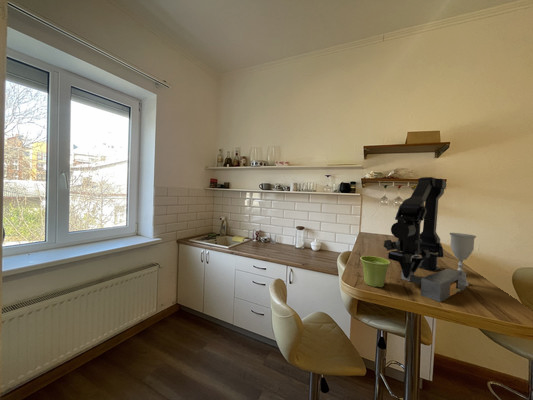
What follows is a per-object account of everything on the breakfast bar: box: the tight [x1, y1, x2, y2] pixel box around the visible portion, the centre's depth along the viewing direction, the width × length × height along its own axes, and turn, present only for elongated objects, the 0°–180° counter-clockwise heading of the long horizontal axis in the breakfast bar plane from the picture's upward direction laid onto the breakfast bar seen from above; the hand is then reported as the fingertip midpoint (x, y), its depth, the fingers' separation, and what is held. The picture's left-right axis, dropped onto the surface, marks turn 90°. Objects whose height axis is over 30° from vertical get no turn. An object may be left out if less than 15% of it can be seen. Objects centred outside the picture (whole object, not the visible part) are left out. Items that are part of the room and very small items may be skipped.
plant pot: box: [360, 255, 391, 288], centre depth 73 cm, size 9×9×9 cm
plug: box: [400, 270, 461, 297], centre depth 73 cm, size 16×4×4 cm, turn 30°
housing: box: [420, 268, 467, 303], centre depth 69 cm, size 20×5×6 cm, turn 120°
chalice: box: [449, 232, 477, 287], centre depth 77 cm, size 7×7×18 cm
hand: (408, 276), depth 78 cm, fingers closed on plug, 3 cm apart
